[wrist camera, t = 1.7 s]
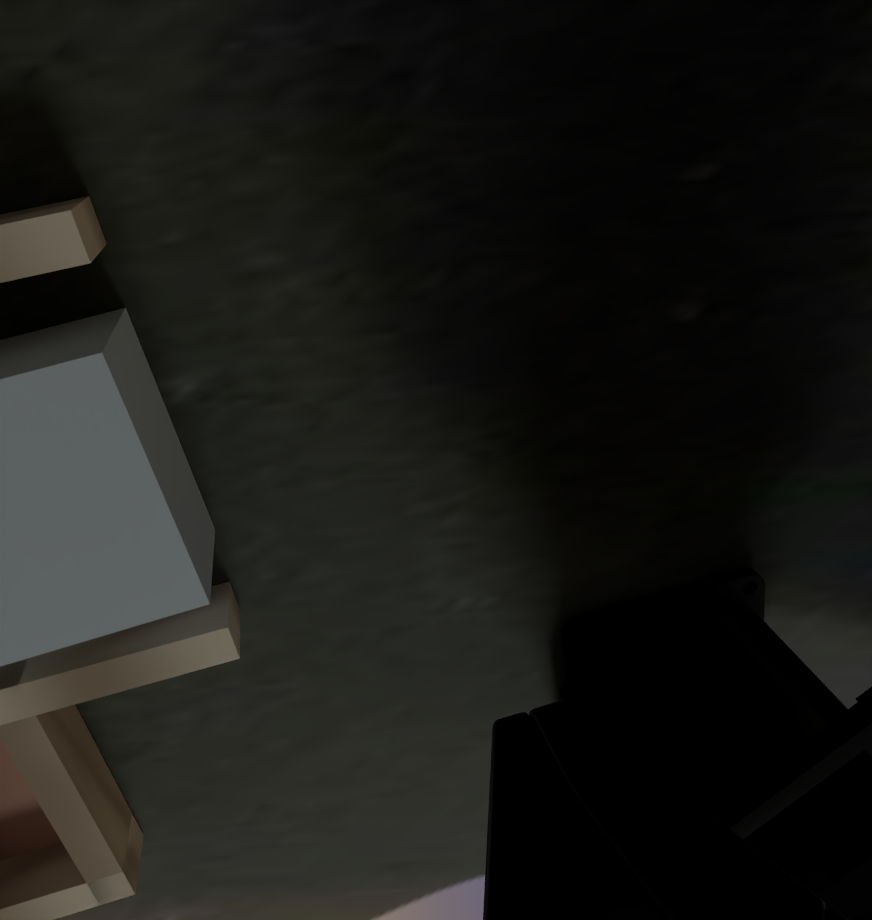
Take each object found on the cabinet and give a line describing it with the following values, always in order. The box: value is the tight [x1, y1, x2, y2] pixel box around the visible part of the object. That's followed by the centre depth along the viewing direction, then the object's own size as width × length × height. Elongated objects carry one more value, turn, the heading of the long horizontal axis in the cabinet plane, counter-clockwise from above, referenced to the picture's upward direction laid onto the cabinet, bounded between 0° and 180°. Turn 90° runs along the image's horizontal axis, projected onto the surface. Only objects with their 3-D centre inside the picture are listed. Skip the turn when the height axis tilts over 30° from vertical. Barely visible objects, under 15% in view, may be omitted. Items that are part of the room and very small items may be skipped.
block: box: [0, 308, 215, 667], centre depth 17 cm, size 6×6×4 cm
